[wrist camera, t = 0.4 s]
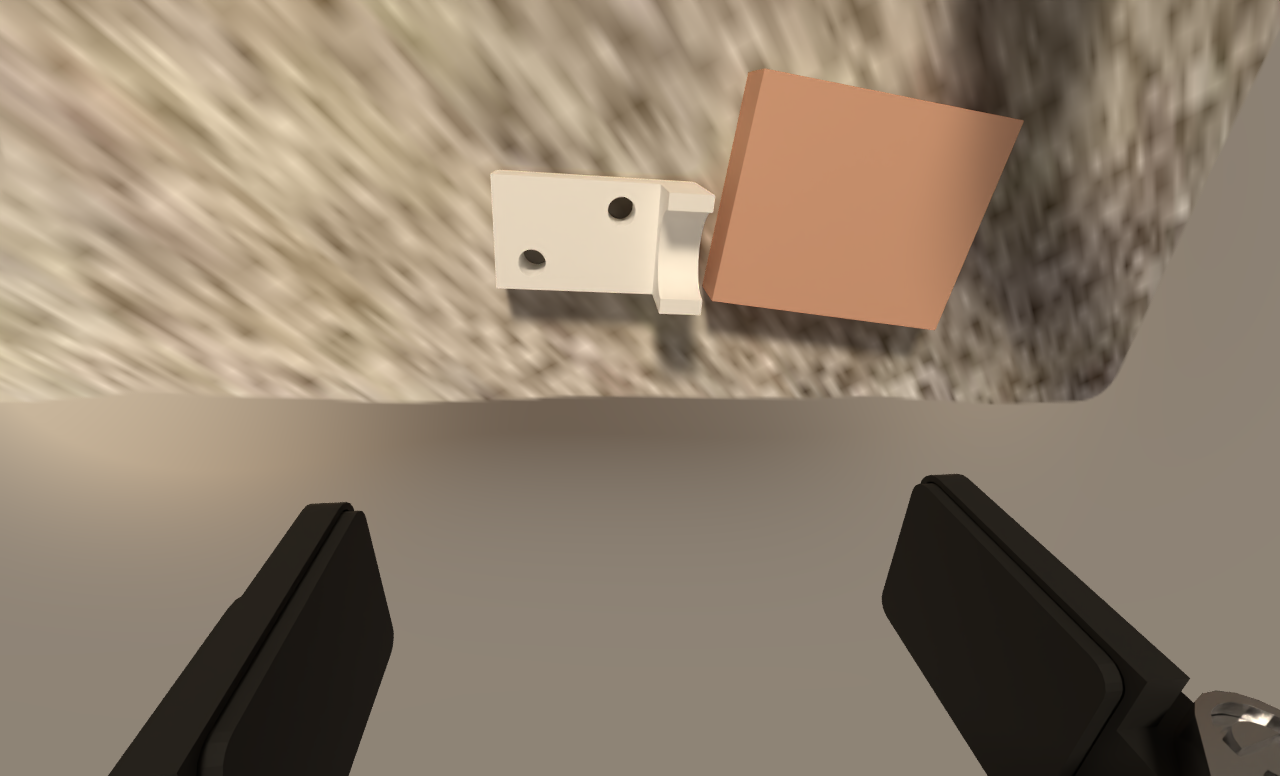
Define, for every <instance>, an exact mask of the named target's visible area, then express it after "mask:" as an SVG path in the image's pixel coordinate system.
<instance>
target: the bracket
mask: <svg viewBox="0 0 1280 776" xmlns="http://www.w3.org/2000/svg"><path fill="white" fill-rule="evenodd" d="M490 175H491V194H492V212H493V231H494V250H495V269H496V288H506V289H531V290H557V291H583V292H608V293H634V294H652V295H653V298H654V301H655V303H656V306H657V309H658V312H659V314H682V315H701V307H702V299H701V296H700V291H699V283H698V259H699V248H700V241H701V235H702V230H703V226H704V223H705V220H706V218H707V216H708V214H709V213H713V209H714V201H715V195H714V194H712V193H711V192H709V191H708V190H706V189H705V188H703V187H702V186H700V185H699V184H697V183H696V182H688V181H672V180H656V179H640V178H624V177H607V176H591V175H575V174H559V173H543V172H527V171H510V170H495V171H494V172H492V173H491V174H490ZM618 197H626V198H628V199H630V200H631V201H632V204H633V207H632V211H631V213H630V214H629V215H628V216H627V217H625V218H622V219H617V218H614V217H612V216H611V215H610V214H609V212H608V207H609V204H610V203H611V201H612V200H614V199H615V198H618ZM530 249H532V250H537V251H539V252H540V253H541V254H542V255H543V256H544V258H545V262H543V263H541V264H533V263H531V262H529V261H528V260H527V259H526V257H525V255H524V251H526V250H530Z"/></svg>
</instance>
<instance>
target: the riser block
mask: <svg viewBox="0 0 1280 776" xmlns="http://www.w3.org/2000/svg"><path fill="white" fill-rule="evenodd" d="M1023 122H1024V120H1019V119H1014V118H1009V117H1004V116H999V115H994V114H989V113H984V112H979V111H974V110H969V109H964V108H959V107H954V106H949V105H944V104H939V103H934V102H929V101H924V100H919V99H914V98H909V97H904V96H899V95H894V94H889V93H884V92H879V91H874V90H869V89H864V88H859V87H854V86H849V85H844V84H839V83H834V82H829V81H824V80H819V79H814V78H809V77H804V76H799V75H794V74H789V73H784V72H779V71H774V70H769V69H761V70H756V71H752V72H748V77H747V81H746V86H745V91H744V95H743V100H742V105H741V109H740V114H739V118H738V123H737V128H736V132H735V137H734V142H733V146H732V151H731V155H730V160H729V165H728V169H727V174H726V179H725V183H724V188H723V192H722V197H721V202H720V206H719V211H718V216H717V220H716V225H715V229H714V234H713V239H712V243H711V248H710V253H709V257H708V262H707V266H706V271H705V276H704V280H703V285H702V286H703V288H704V289H705V291H706V293H707V294H708V296H709V297H710V299H711V300H712V301H716V302H724V303H732V304H739V305H747V306H754V307H762V308H770V309H777V310H785V311H792V312H800V313H808V314H815V315H823V316H830V317H838V318H846V319H853V320H861V321H868V322H876V323H884V324H891V325H899V326H906V327H914V328H922V329H929V330H935V329H936V327H937V324H938V322H939V320H940V317H941V315H942V313H943V310H944V308H945V306H946V303H947V301H948V299H949V296H950V294H951V292H952V289H953V287H954V285H955V282H956V280H957V277H958V275H959V273H960V270H961V268H962V266H963V263H964V261H965V259H966V256H967V254H968V252H969V249H970V247H971V245H972V242H973V240H974V238H975V235H976V233H977V230H978V228H979V226H980V223H981V221H982V219H983V216H984V214H985V212H986V209H987V207H988V205H989V202H990V200H991V198H992V195H993V193H994V191H995V188H996V186H997V183H998V181H999V179H1000V176H1001V174H1002V172H1003V169H1004V167H1005V165H1006V162H1007V160H1008V158H1009V155H1010V153H1011V151H1012V148H1013V146H1014V143H1015V141H1016V139H1017V136H1018V134H1019V132H1020V129H1021V127H1022V125H1023Z"/></svg>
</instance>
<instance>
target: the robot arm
mask: <svg viewBox="0 0 1280 776" xmlns="http://www.w3.org/2000/svg"><path fill="white" fill-rule="evenodd" d="M882 605H883V609H884V612H885V614H886V616H887V618H888V619H889V621H890V623H891V624H892V625H893V627H894V629H895V630H896V632H897V634H898V635H899V637H900V638H901V640H902V641H903V643H904V644H905V646H906V648H907V649H908V651H909V652H910V654H911V656H912V657H913V659H914V660H915V662H916V663H917V665H918V666H919V668H920V670H921V671H922V673H923V675H924V676H925V678H926V679H927V681H928V682H929V684H930V686H931V687H932V688H933V690H934V692H935V693H936V695H937V697H938V698H939V700H940V701H941V703H942V704H943V706H944V708H945V709H946V711H947V712H948V714H949V716H950V717H951V718H952V720H953V722H954V723H955V725H956V726H957V728H958V730H959V731H960V733H961V734H962V736H963V738H964V739H965V741H966V742H967V744H968V745H969V747H970V749H971V750H972V752H973V753H974V755H975V756H976V758H977V760H978V761H979V763H980V764H981V766H982V768H983V769H984V771H985V772H986V774H987V776H1280V710H1279V709H1277V708H1275V707H1272V706H1270V705H1268V704H1266V703H1264V702H1262V701H1259V700H1256V699H1254V698H1250V697H1247V696H1244V695H1240V694H1238V693H1232V692H1224V691H1212V692H1207V693H1202V694H1201V695H1200V696H1199V698H1198V699H1197V700H1196V701H1195V702H1194V703H1193V702H1192V701H1191V700H1190V699H1189V698H1188V697H1187V696H1185V695H1184V694H1183V693H1182V692H1181V691H1182V689H1183V688H1184V686H1185V685H1186V684H1187V682H1188V681H1189V679H1190V678H1189V677H1188V676H1187V675H1186V674H1185V673H1184V672H1182V671H1181V670H1180V669H1179V668H1178V667H1177V666H1176V665H1175V664H1174V663H1173V662H1171V661H1170V660H1169V659H1168V658H1167V657H1166V656H1165V655H1164V654H1163V653H1161V652H1160V651H1159V650H1158V649H1157V648H1156V647H1155V646H1154V645H1152V644H1151V643H1150V642H1149V641H1148V640H1147V639H1146V638H1145V637H1144V636H1142V635H1141V634H1140V633H1139V632H1138V631H1137V630H1136V629H1135V628H1134V627H1133V626H1131V625H1130V624H1129V623H1128V622H1127V621H1126V620H1125V619H1124V618H1123V617H1121V616H1120V615H1119V614H1118V613H1117V612H1116V611H1115V610H1114V609H1113V608H1111V607H1110V606H1109V605H1108V604H1107V603H1106V602H1105V601H1104V600H1102V599H1101V598H1100V597H1099V596H1098V595H1097V594H1096V593H1095V592H1094V591H1093V590H1091V589H1090V588H1089V587H1088V586H1087V585H1086V584H1085V583H1084V582H1083V581H1081V580H1080V579H1079V578H1078V577H1077V576H1076V575H1074V573H1073V572H1071V571H1070V570H1069V569H1068V568H1067V567H1066V566H1065V565H1064V564H1062V563H1061V562H1060V561H1059V560H1058V559H1057V558H1056V557H1055V556H1054V555H1052V554H1051V553H1050V552H1049V551H1048V550H1047V549H1046V548H1045V547H1044V546H1043V545H1041V544H1040V543H1039V542H1038V541H1037V540H1036V539H1035V538H1034V537H1033V536H1031V535H1030V534H1029V533H1028V532H1027V531H1026V530H1025V529H1024V528H1022V527H1021V526H1020V525H1019V524H1018V523H1017V522H1016V521H1015V520H1014V519H1013V518H1011V517H1010V516H1009V515H1008V514H1007V513H1006V512H1005V511H1004V510H1003V509H1001V508H1000V507H999V506H998V505H997V504H996V503H995V502H994V501H993V500H991V499H990V498H989V497H988V496H987V495H986V494H985V493H984V492H982V491H981V490H980V489H979V488H978V487H977V486H976V485H975V484H974V483H973V482H971V481H970V480H969V479H968V478H966V477H965V476H964V475H960V474H948V475H947V474H946V475H929V476H926V477H925V478H923V480H922V481H921V484H918V485H916V486H915V487H914V489H913V491H912V494H911V498H910V501H909V504H908V508H907V511H906V514H905V518H904V521H903V525H902V528H901V532H900V535H899V538H898V542H897V545H896V549H895V552H894V556H893V559H892V563H891V566H890V569H889V573H888V576H887V580H886V583H885V586H884V590H883V593H882ZM393 635H394V633H393V626H392V622H391V618H390V614H389V610H388V606H387V602H386V598H385V594H384V590H383V585H382V581H381V578H380V573H379V569H378V565H377V561H376V557H375V553H374V549H373V545H372V541H371V537H370V532H369V528H368V524H367V520H366V517H365V514H364V513H363V512H362V511H354V509H353V506H352V505H351V504H350V503H347V502H340V503H320V504H309V505H307V506H306V507H305V508H304V509H303V510H302V512H301V513H300V514H299V516H298V517H297V519H296V520H295V521H294V523H293V524H292V526H291V527H290V529H289V530H288V531H287V533H286V534H285V536H284V537H283V538H282V540H281V541H280V543H279V544H278V545H277V547H276V548H275V550H274V551H273V553H272V554H271V555H270V557H269V558H268V560H267V561H266V563H265V564H264V565H263V567H262V568H261V570H260V571H259V572H258V574H257V575H256V577H255V578H254V579H253V581H252V582H251V584H250V585H249V587H248V588H247V589H246V591H245V592H244V594H243V595H242V596H241V597H240V598H238V599H236V600H235V601H234V603H233V604H232V605H231V606H230V607H229V608H228V609H227V611H226V612H225V613H224V615H223V616H222V618H221V619H220V621H219V622H218V623H217V625H216V626H215V627H214V629H213V630H212V632H211V633H210V634H209V636H208V637H207V638H206V640H205V641H204V643H203V644H202V645H201V647H200V648H199V650H198V651H197V653H196V654H195V655H194V657H193V658H192V660H191V661H190V662H189V664H188V665H187V667H186V668H185V669H184V671H183V672H182V673H181V675H180V676H179V678H178V679H177V680H176V682H175V683H174V685H173V686H172V687H171V689H170V690H169V692H168V693H167V694H166V696H165V697H164V698H163V700H162V701H161V703H160V704H159V706H158V707H157V708H156V710H155V711H154V713H153V714H152V715H151V717H150V718H149V719H148V721H147V722H146V724H145V725H144V726H143V728H142V729H141V731H140V732H139V733H138V735H137V736H136V738H135V739H134V740H133V742H132V743H131V744H130V746H129V747H128V749H127V750H126V751H125V753H124V754H123V756H122V757H121V759H120V760H119V761H118V763H117V764H116V766H115V767H114V768H113V770H112V771H111V772H110V774H109V775H108V776H349V773H350V770H351V767H352V764H353V761H354V758H355V755H356V753H357V750H358V747H359V744H360V741H361V738H362V735H363V732H364V730H365V727H366V723H367V721H368V718H369V715H370V712H371V709H372V707H373V704H374V701H375V698H376V695H377V692H378V689H379V686H380V684H381V681H382V677H383V675H384V672H385V669H386V666H387V663H388V661H389V658H390V655H391V651H392V647H393V638H394V637H393Z"/></svg>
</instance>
